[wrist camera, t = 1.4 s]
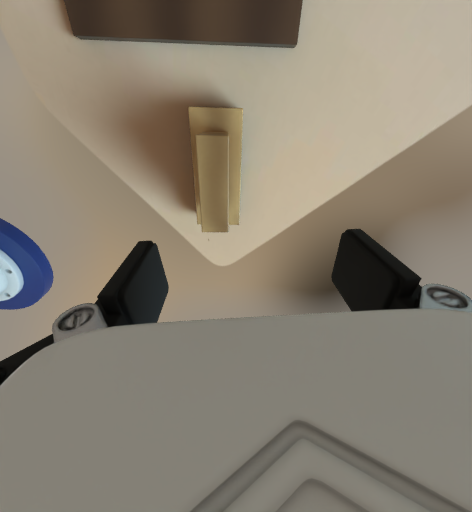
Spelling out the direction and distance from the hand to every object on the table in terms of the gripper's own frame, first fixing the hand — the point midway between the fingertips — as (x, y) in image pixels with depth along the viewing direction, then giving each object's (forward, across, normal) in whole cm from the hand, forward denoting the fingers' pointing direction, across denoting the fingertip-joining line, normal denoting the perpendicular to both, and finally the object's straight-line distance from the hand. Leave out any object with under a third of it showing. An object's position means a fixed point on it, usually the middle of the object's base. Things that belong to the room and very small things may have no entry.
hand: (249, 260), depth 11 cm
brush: (+19, +2, -1) cm, 19 cm away
